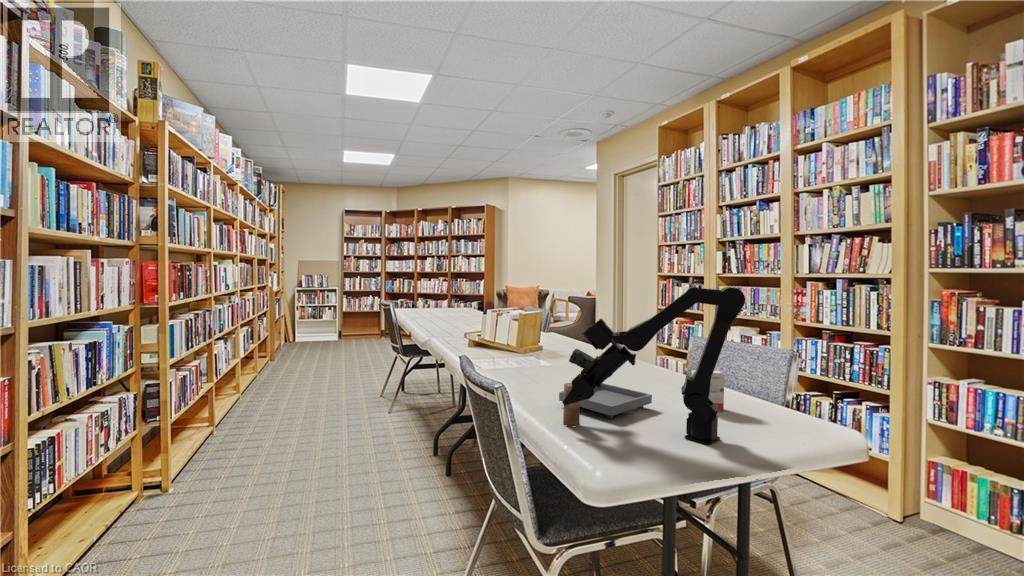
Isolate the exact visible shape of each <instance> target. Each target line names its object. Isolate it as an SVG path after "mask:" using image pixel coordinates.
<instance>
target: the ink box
mask: <svg viewBox="0 0 1024 576" xmlns="http://www.w3.org/2000/svg"><path fill="white" fill-rule="evenodd" d="M695 371H696V369H695V370H693V369H692V370H691V376H692V375H693V374H694V372H695ZM709 399H710V400H711V401H712V402H713V403H714V405H715V409H716V411H719V412H720V411H722V412H724V406H725V405H724V404H725V403H724V402H725V401H724V400H725V374H724V372H722V371H719V370H714V371H713V374H712V377H711V384H710V393H709ZM722 412H721V413H722Z"/></svg>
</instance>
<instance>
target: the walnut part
mask: <svg viewBox="0 0 1024 576" xmlns="http://www.w3.org/2000/svg"><path fill="white" fill-rule="evenodd" d="M571 390H572V382H566V383H564V384H563V391H564V399H565V398H566V396H567V395H568V394H569V392H570V391H571ZM580 409H581V407H580V401H578V402H575V403H571V404H568V405H564V404H563V417H562V419H563V421H562V422H563V423H562V424H563V426H565V425H567V426H566V427H568V426H577V427H579V426H580V419H581V418H580V412H581V411H580ZM578 425H579V426H578Z"/></svg>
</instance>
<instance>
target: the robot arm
mask: <svg viewBox="0 0 1024 576" xmlns="http://www.w3.org/2000/svg"><path fill="white" fill-rule="evenodd" d="M745 303H746V296H745V294H744V292H743V291H741V289H738V288H736V287H733V286H726V287H723V288H721V289H714V288H704V287H703V288H701V287H697V286H690V287H688V288H687V289H686V291H684V292H683V293H682V294H681V295H679V296H678V297H677V298H676V299H674V300H673V301H672V302H670V303H669V304H667V305H666V306H665V307H664V308H663V309H661V310H659V312H657V313H655V314H654V315H652V317H650V318H648V319H647V320H644V321H642V322H640V323H637V324H635V325H634V326H632V327H630V328H629V329H627V330H626V331H615V332H614V331H613V330H612V328H610V327H609V326H608V325H607V323H606V322H605V320H604V319H603V318H599V319H598V320H597V321H596V322H595V323H593V324H592V325H591V326H590V327H587V328H588V329H586V330H585V331H584V332H583V333H582V334H581V335H582V336H583V337H584V338H585V340H587V342H588V343H589V344H590V345H591V346H592V347H593V348H594V349H595V350H601V351H603V350H604V349H606V350H605V351H603V352H602V353H601V354H600V355H596V357H593V356H591V355H589V354H587V353H586V352H584V351H582V350H580V349H578V348H575V349H573V351H572V353H571V355H570V357H569V359H568V362H569V363H571V364H573V365H575V366H577V367H579V368H581V369H582V370H581V371H580V373H578V374H577V375H576V376H575V377H574V378H572V380H571V383H572V390H571V391H570V392H569V394H568V395H567V396H566V398H565V399H564V400H563V401H561V403H562V405H563V406H564V405H568V404H571V403H575V402H578V401H582V400H587V399H588V400H589V399H590V398H591V397H592V396H593V395H594V394H595V392H596V386H597V387H599V386H600V385H601V384H602V383H604V382H605V381H606V380H608V378H611V377H612V376H613V375H614V373H615V372H616V371H617V370H619V369H620V368H621V367H622V366H624V364H626V363H627V362H629V364H631V365H632V366H635V365H636V357H637V353H632V352H640V351H641V350H643V349H644V348H645V347H646V346H647V345H648V344H649V342H650V341H652V339H653V338H654V337H655V336H656V334H657V333H658V332H659V331H660V330H662V329H663V328H665V326H667V325H669V324H670V323H671V322H673V321H675V319H677V318H678V317H679V316H681V315H683V313H685V312H686V311H687V310H689V309H690V308H691V307H693V306H694V305H696V304H703V305H711V306H715V307H714V317H713V322H712V325H711V327H710V330H709V333H708V335H707V338H706V341H705V344H704V347H703V349H702V353H701V356H700V358H699V361H698V364H697V366H696V369H695V370H696V371H695V372H694V374H693V375H692V374H691V375H689V374H686V375H685V379H684V383H683V385H682V386H681V388H680V389H681V395H682V399H683V404H684V406H685V407H686V408H687V410H690V412H688V415H687V416H688V417H687V418H686V425H685V426H686V431H685V433H686V435H684V439H687V440H690V441H694V442H696V443H699V444H703V445H707V446H709V445H710V446H711V444H713V443H715V442H718V441H721V437H720V436H718V425H719V424H718V423H719V422H718V420H719V419H718V418H719V416H717V415H718V412H716V409H715V405H714V403H713V402H712V401H711V400H710V399H709V393H710V384H711V377H712V374H713V371H715V368H716V365H717V363H718V360H719V357H720V355H721V352H722V350H723V346H724V344H725V341H726V338H727V335H728V332H729V330H730V327H731V325H732V324H733V322H734V321H735V320H736V318H737V317H738V316H739V314H740V312H741V311H742V309H743V307H745V306H744V305H745ZM610 344H611V345H610ZM609 345H610V346H609ZM608 346H609V347H608ZM630 351H631V352H630Z"/></svg>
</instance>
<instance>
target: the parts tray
mask: <svg viewBox="0 0 1024 576" xmlns="http://www.w3.org/2000/svg"><path fill="white" fill-rule="evenodd" d="M652 399H653V394H650V393H646V392H642V391H638V390H634V389H633V390H632V389H630V388H625V387H621V386H618V385H612V384H607V383H604V382H603V383H602V384H601V385H600V386H599V387H597V386H596V392H595V394H594V395H593V396H592V397H591V398H590V399H589V400H588V399H587V400H582V401H580V408H583V409H587V410H590V411H593V412H597V413H599V414H600V413H601V414H603V415H606V418H607V419H610V420H611V419H613V418H614V416H616V415H619V414H623V413H624V412H628V411H631V410H634V409H638V410H641V409H643V408H644V406H647V405H650V404H653V400H652ZM558 400H559V402H563V400H564V390H563V391H559V393H558Z"/></svg>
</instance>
